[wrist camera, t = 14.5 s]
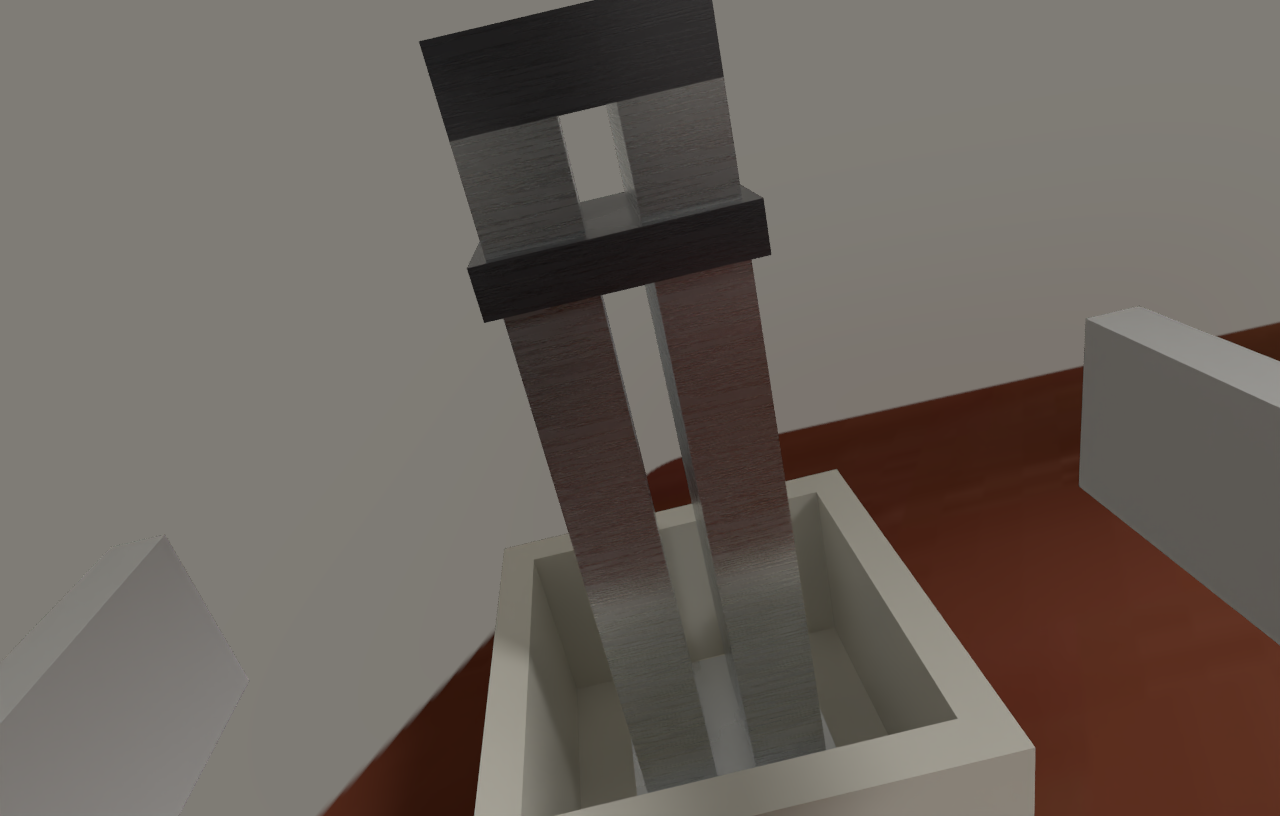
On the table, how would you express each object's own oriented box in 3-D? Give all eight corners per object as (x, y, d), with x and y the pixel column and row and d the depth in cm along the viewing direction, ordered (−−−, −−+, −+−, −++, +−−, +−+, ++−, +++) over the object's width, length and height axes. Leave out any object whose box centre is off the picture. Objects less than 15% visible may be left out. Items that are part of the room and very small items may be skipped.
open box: (854, 623, 27) (836, 469, 24) (1032, 949, 17) (1034, 747, 14) (556, 695, 27) (504, 548, 24) (555, 1065, 17) (466, 884, 14)
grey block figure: (799, 687, 23) (684, -5, 15) (854, 825, 19) (735, -37, 11) (638, 725, 23) (439, 53, 15) (656, 873, 19) (391, 44, 11)
